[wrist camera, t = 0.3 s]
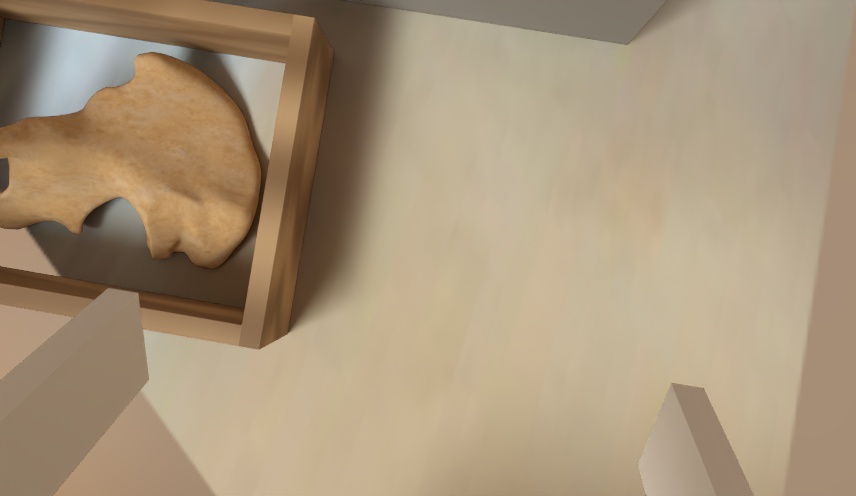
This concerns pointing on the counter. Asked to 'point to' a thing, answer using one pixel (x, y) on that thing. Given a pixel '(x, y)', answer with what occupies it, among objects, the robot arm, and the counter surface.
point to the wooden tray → (287, 172)
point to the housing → (545, 14)
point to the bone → (141, 162)
